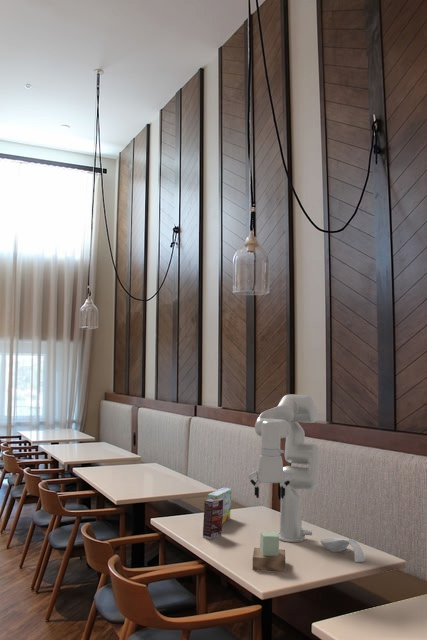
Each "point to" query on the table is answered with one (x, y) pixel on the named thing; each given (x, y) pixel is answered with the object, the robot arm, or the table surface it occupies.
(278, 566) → the walnut slab
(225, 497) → the snack box
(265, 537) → the sage block
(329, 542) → the spoon rest
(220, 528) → the supplement box
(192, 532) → the table surface
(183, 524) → the table surface
